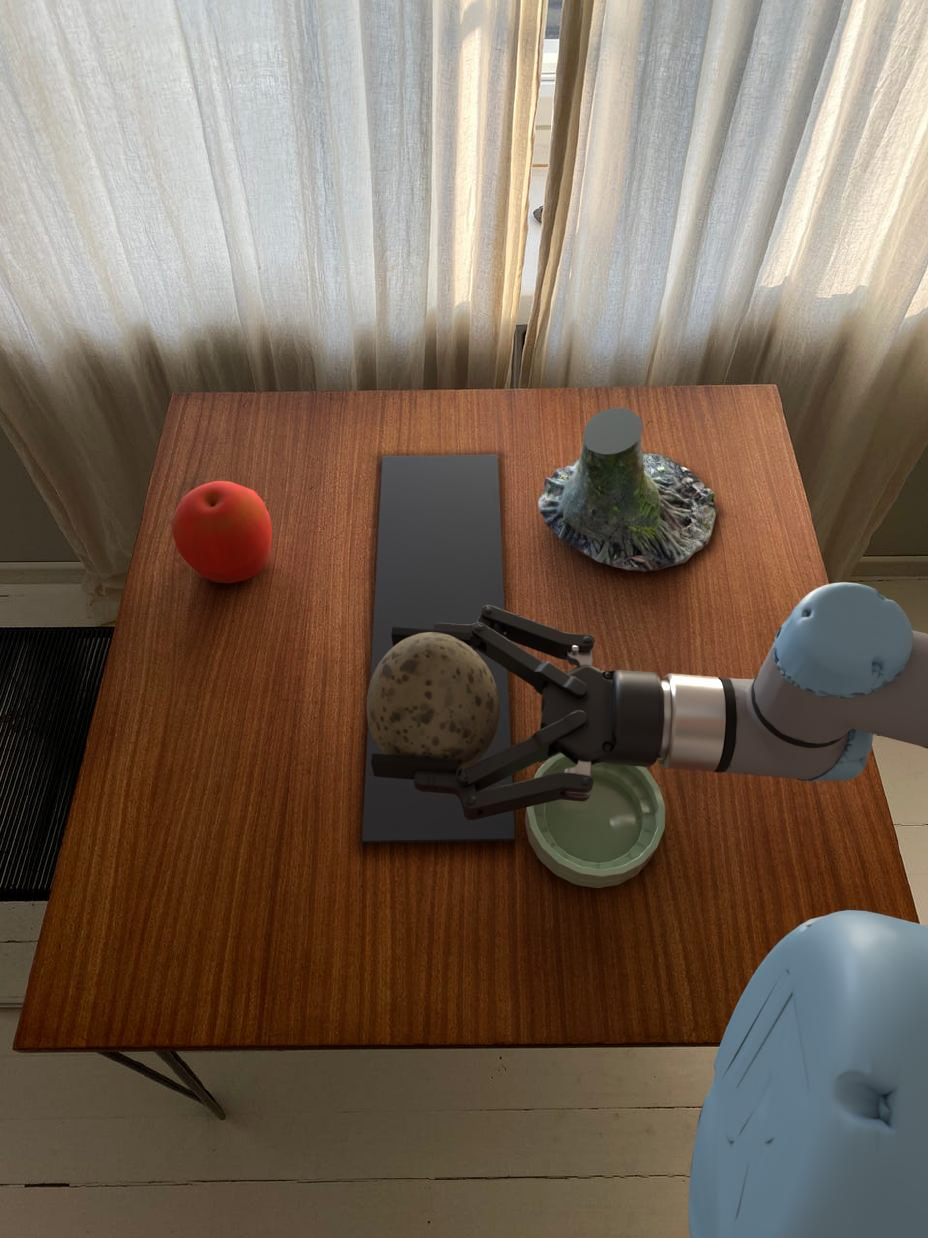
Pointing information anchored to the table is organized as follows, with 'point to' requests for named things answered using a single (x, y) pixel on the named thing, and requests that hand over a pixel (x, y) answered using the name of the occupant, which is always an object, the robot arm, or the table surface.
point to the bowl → (599, 825)
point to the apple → (223, 531)
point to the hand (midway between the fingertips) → (383, 699)
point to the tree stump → (627, 500)
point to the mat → (436, 618)
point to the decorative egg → (433, 700)
